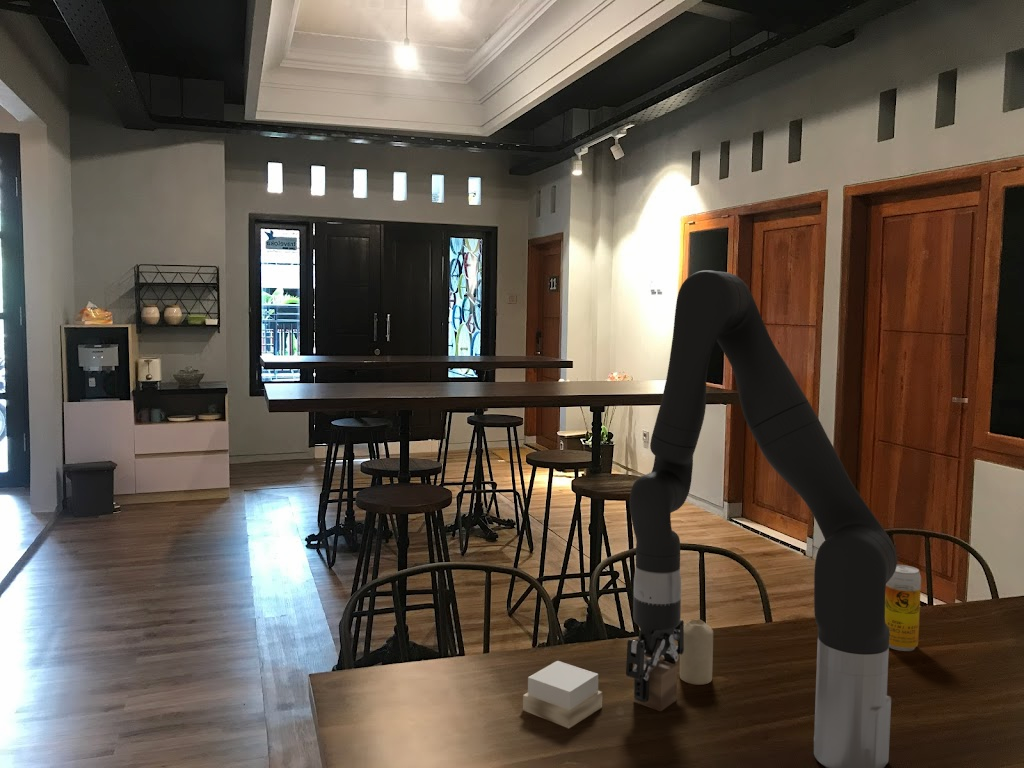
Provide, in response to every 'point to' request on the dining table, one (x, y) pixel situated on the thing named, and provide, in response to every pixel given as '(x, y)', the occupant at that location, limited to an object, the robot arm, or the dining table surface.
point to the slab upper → (563, 685)
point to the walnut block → (661, 686)
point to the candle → (697, 653)
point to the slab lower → (562, 710)
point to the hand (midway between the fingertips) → (655, 691)
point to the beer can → (903, 608)
